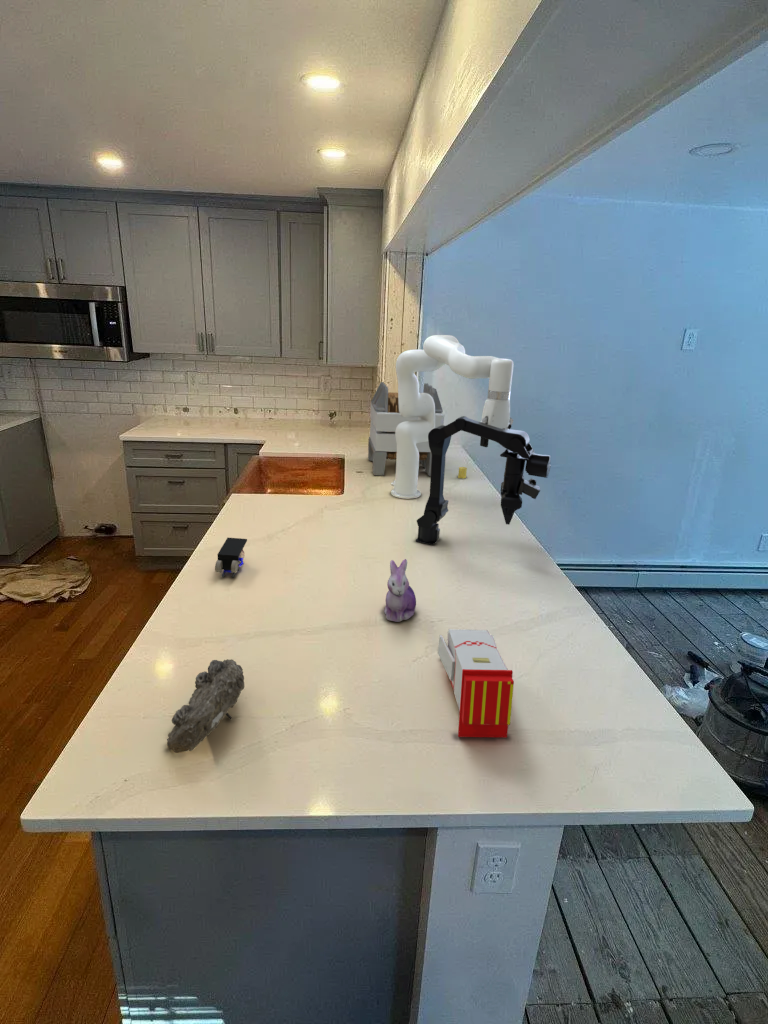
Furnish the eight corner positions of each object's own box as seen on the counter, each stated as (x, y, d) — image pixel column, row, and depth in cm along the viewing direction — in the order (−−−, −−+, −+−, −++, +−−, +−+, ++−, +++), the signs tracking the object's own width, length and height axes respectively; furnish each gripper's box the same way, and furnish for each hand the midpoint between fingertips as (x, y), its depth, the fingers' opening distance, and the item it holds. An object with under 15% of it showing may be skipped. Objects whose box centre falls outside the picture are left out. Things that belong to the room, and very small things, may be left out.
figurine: (392, 627, 141) (395, 572, 136) (374, 608, 149) (376, 556, 144) (425, 619, 145) (429, 566, 140) (405, 601, 154) (408, 550, 149)
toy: (488, 613, 130) (523, 677, 101) (484, 667, 133) (517, 744, 104) (435, 612, 130) (455, 676, 101) (432, 666, 133) (451, 743, 103)
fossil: (192, 660, 117) (244, 628, 112) (224, 691, 120) (276, 661, 115) (142, 746, 98) (202, 712, 93) (182, 779, 101) (242, 748, 96)
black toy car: (238, 584, 162) (249, 557, 175) (236, 562, 158) (247, 536, 172) (215, 584, 161) (227, 556, 175) (212, 561, 158) (225, 535, 171)
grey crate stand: (367, 457, 298) (369, 379, 284) (428, 458, 302) (433, 380, 288) (373, 475, 266) (376, 388, 253) (441, 476, 270) (448, 390, 256)
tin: (465, 478, 269) (466, 469, 268) (457, 478, 270) (458, 468, 268) (466, 476, 273) (467, 467, 271) (458, 475, 273) (459, 466, 272)
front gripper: (542, 483, 165) (534, 533, 171) (538, 467, 182) (531, 512, 188) (504, 479, 167) (497, 528, 172) (503, 463, 184) (497, 508, 190)
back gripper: (507, 393, 202) (501, 440, 207) (473, 395, 191) (468, 445, 197) (523, 396, 196) (517, 444, 202) (489, 399, 186) (484, 450, 192)
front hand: (507, 519), depth 181 cm, fingers open, 9 cm apart
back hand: (493, 444), depth 200 cm, fingers open, 9 cm apart
